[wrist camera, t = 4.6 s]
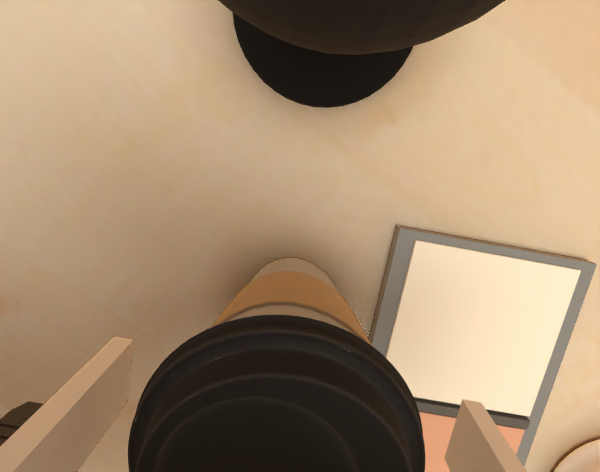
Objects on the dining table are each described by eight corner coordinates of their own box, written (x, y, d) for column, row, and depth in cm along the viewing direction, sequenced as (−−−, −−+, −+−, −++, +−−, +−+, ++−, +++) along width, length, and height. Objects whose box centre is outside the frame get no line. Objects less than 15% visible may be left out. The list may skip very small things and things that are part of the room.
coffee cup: (342, 380, 27) (388, 656, 12) (204, 349, 27) (84, 597, 12) (382, 247, 25) (492, 391, 10) (233, 211, 25) (130, 309, 10)
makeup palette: (326, 516, 30) (327, 535, 28) (396, 225, 25) (402, 229, 23) (485, 541, 30) (495, 561, 28) (585, 259, 25) (602, 266, 24)
